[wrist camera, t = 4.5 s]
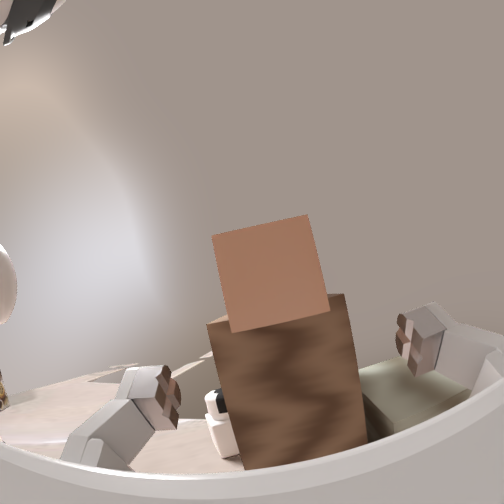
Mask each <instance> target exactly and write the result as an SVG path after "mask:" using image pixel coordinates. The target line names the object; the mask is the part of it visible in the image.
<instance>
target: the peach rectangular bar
mask: <svg viewBox="0 0 504 504" xmlns="http://www.w3.org/2000/svg"><path fill="white" fill-rule="evenodd" d="M212 241H213V246H214V251H215V257H216V261H217V267H218V271H219V276H220V281H221V286H222V291H223V296H224V300H225V305H226V309H227V314H228V319H229V323H230V328H231V332H232V333H236V332H241V331H246V330H251V329H255V328H260V327H265V326H270V325H274V324H279V323H283V322H287V321H292V320H296V319H300V318H304V317H309V316H313V315H317V314H321V313H325V312H328V311H330V306H329V302H328V297H327V292H326V288H325V283H324V279H323V275H322V271H321V266H320V262H319V259H318V254H317V250H316V246H315V242H314V238H313V234H312V230H311V226H310V222H309V218H308V215H302V216H297V217H293V218H288V219H283V220H279V221H274V222H270V223H265V224H261V225H256V226H252V227H247V228H243V229H239V230H234V231H229V232H225V233H221V234H216V235H213V236H212Z"/></svg>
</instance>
